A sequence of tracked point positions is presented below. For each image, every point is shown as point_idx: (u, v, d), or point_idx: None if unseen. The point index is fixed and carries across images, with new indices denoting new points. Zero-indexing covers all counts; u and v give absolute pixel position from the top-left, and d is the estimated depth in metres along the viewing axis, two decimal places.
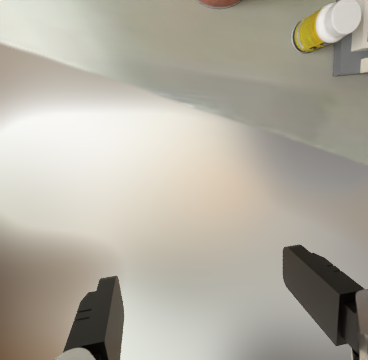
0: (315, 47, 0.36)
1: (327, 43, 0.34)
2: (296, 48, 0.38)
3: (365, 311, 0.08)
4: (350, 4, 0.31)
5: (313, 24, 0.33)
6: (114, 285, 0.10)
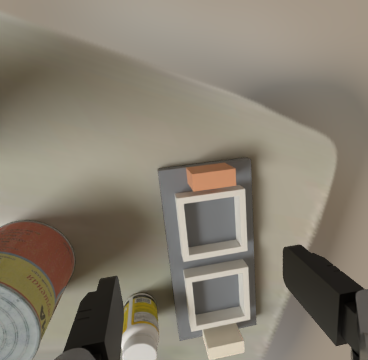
0: None
1: None
2: None
3: (365, 311, 0.08)
4: (141, 348, 0.29)
5: None
6: (114, 285, 0.10)
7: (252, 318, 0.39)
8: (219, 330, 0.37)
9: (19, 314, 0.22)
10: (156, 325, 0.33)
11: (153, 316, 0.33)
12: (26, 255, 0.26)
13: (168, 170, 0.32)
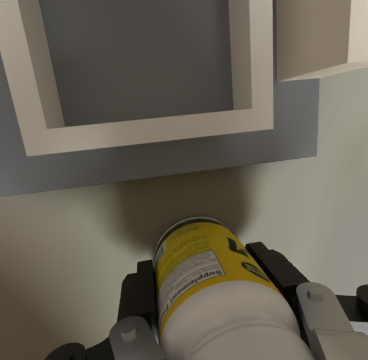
0: None
1: None
2: None
3: (307, 305, 0.08)
4: None
5: None
6: (152, 267, 0.11)
7: None
8: (298, 6, 0.09)
9: None
10: (195, 276, 0.09)
11: (177, 267, 0.10)
12: None
13: None
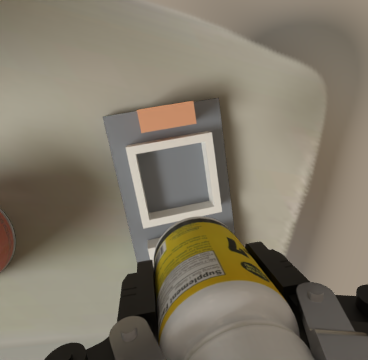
0: None
1: None
2: None
3: (307, 305, 0.08)
4: None
5: None
6: (152, 267, 0.11)
7: None
8: None
9: None
10: (195, 276, 0.09)
11: (177, 267, 0.10)
12: None
13: (115, 115, 0.26)
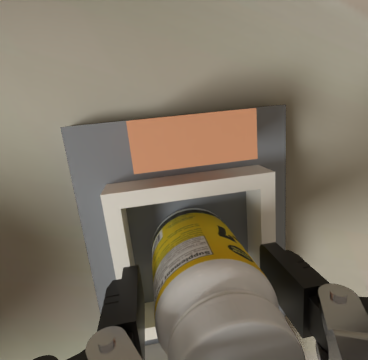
0: None
1: None
2: None
3: (328, 306, 0.08)
4: None
5: None
6: (137, 273, 0.11)
7: None
8: None
9: None
10: (187, 256, 0.10)
11: (171, 250, 0.11)
12: None
13: (87, 126, 0.13)
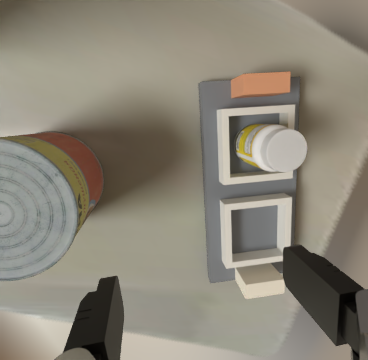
0: None
1: None
2: None
3: (365, 311, 0.08)
4: (274, 148, 0.23)
5: None
6: (114, 285, 0.10)
7: None
8: (255, 271, 0.34)
9: (57, 192, 0.19)
10: (263, 126, 0.26)
11: (253, 129, 0.27)
12: (60, 147, 0.23)
13: (211, 82, 0.29)
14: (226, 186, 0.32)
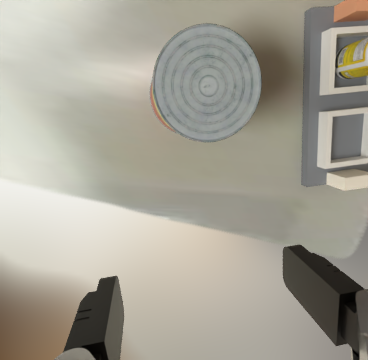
0: None
1: None
2: None
3: (365, 311, 0.08)
4: None
5: None
6: (114, 285, 0.10)
7: None
8: (346, 172, 0.41)
9: (249, 69, 0.26)
10: None
11: (361, 41, 0.34)
12: None
13: (319, 8, 0.36)
14: (324, 100, 0.39)
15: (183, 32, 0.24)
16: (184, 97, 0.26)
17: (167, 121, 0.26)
